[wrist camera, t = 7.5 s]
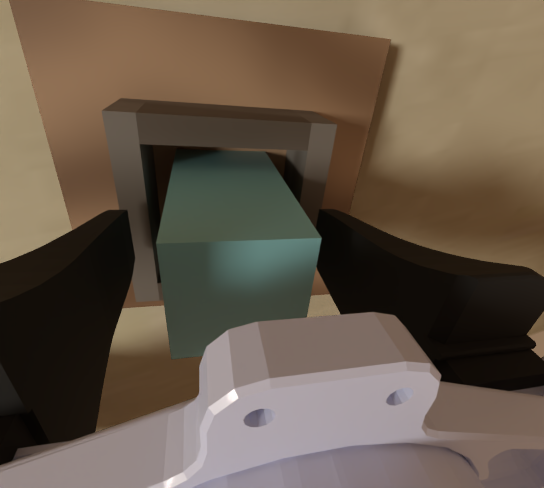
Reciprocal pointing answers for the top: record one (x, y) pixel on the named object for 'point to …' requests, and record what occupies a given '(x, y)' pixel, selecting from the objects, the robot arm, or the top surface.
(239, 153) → the block
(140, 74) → the end holder
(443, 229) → the top surface
